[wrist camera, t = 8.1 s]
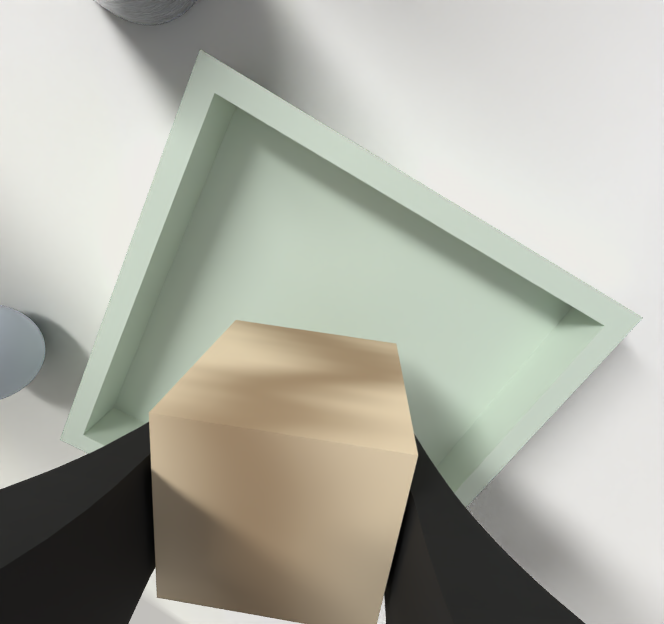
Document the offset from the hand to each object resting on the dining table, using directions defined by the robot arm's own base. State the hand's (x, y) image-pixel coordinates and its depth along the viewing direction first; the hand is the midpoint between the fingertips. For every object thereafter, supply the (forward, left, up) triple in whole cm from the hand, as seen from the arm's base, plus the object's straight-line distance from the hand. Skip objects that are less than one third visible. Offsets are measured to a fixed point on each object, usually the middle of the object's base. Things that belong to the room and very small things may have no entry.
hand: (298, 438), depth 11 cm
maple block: (0, 0, -2) cm, 2 cm away
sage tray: (0, 0, -5) cm, 5 cm away
